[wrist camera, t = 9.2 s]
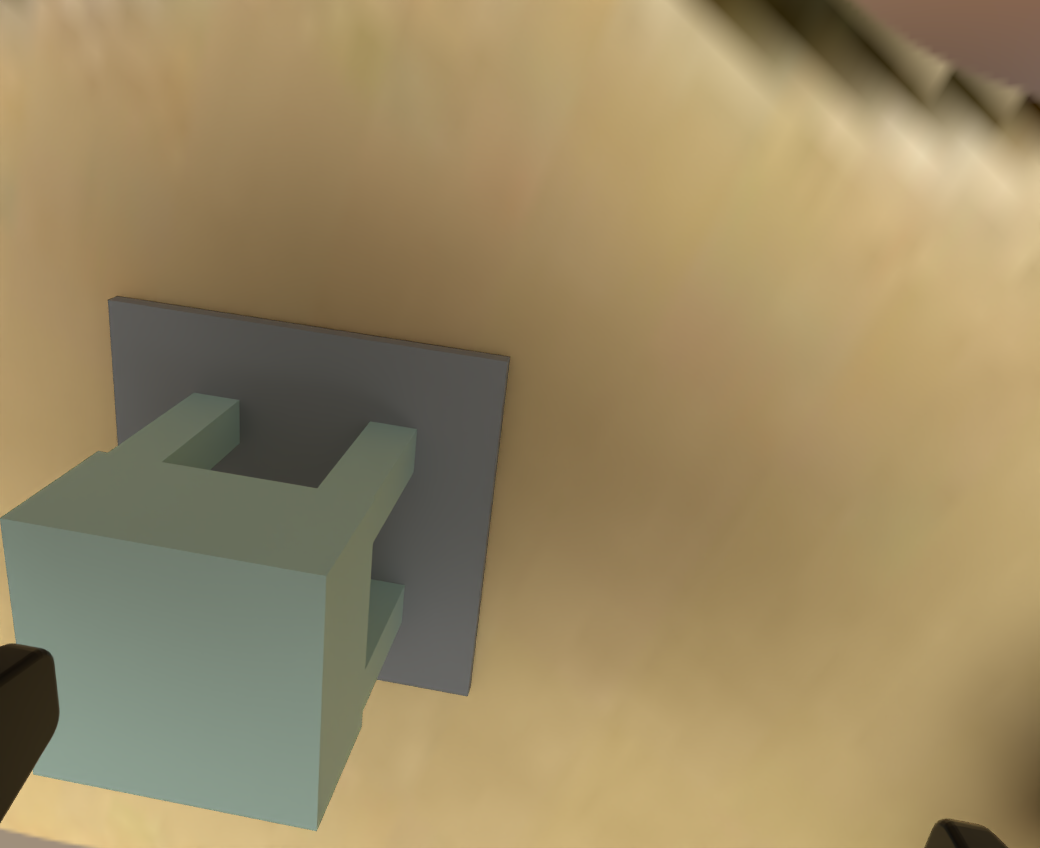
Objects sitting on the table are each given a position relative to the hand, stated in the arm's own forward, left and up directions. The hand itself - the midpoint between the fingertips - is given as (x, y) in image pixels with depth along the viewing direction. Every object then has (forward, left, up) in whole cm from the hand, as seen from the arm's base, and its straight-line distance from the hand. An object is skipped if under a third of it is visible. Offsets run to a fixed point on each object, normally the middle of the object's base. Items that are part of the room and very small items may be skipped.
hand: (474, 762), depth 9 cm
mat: (+6, +5, -13) cm, 15 cm away
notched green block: (+6, +5, -13) cm, 15 cm away
